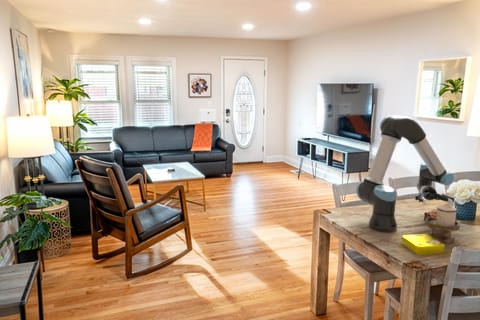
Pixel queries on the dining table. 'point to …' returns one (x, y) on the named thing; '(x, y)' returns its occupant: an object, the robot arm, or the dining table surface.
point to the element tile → (423, 244)
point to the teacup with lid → (445, 215)
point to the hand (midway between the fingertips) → (438, 203)
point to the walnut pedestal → (441, 230)
